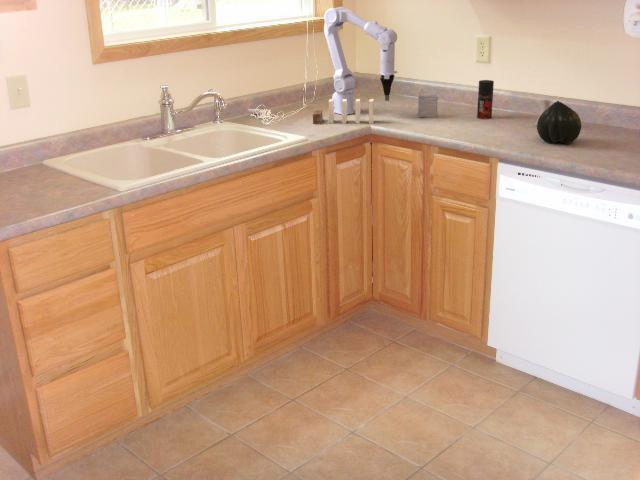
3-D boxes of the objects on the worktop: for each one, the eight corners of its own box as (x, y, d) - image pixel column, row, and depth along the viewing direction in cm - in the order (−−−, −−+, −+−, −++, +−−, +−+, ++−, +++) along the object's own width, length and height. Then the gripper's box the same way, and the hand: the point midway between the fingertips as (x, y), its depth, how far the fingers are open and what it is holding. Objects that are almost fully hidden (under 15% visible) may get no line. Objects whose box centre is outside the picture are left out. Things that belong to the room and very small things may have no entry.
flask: (555, 124, 293) (557, 99, 290) (552, 128, 287) (554, 103, 284) (536, 123, 296) (538, 98, 293) (533, 127, 290) (535, 102, 286)
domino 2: (342, 123, 305) (341, 101, 302) (343, 120, 310) (343, 99, 306) (346, 123, 305) (345, 101, 302) (347, 120, 309) (346, 99, 306)
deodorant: (475, 118, 307) (477, 82, 301) (478, 115, 312) (480, 79, 306) (490, 119, 305) (492, 82, 299) (492, 116, 310) (494, 80, 304)
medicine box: (436, 115, 315) (437, 94, 311) (437, 117, 310) (437, 97, 307) (417, 115, 315) (418, 95, 312) (418, 117, 311) (418, 97, 308)
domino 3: (355, 123, 304) (355, 101, 301) (356, 120, 309) (356, 99, 306) (359, 123, 304) (359, 101, 301) (360, 120, 309) (360, 98, 305)
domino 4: (368, 123, 304) (368, 101, 300) (369, 120, 308) (369, 99, 305) (372, 123, 304) (372, 101, 300) (373, 120, 308) (373, 98, 305)
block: (313, 123, 305) (312, 114, 304) (315, 119, 312) (315, 110, 311) (320, 123, 305) (320, 114, 303) (322, 119, 312) (322, 110, 311)
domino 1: (328, 123, 306) (328, 101, 302) (330, 120, 310) (329, 99, 307) (332, 123, 306) (332, 101, 302) (334, 120, 310) (333, 99, 307)
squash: (572, 134, 255) (581, 97, 259) (529, 132, 263) (539, 95, 267) (578, 154, 267) (587, 118, 271) (537, 151, 275) (546, 115, 279)
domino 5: (385, 100, 309) (385, 78, 305) (385, 98, 313) (385, 76, 310) (388, 100, 309) (389, 78, 305) (389, 98, 313) (389, 76, 310)
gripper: (396, 63, 298) (396, 96, 303) (397, 57, 311) (397, 90, 316) (379, 63, 299) (379, 97, 304) (380, 58, 312) (380, 90, 317)
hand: (387, 93), depth 310 cm, fingers closed on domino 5, 5 cm apart
